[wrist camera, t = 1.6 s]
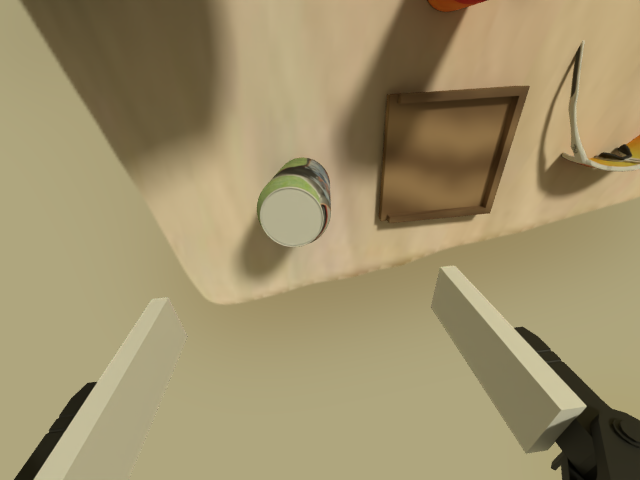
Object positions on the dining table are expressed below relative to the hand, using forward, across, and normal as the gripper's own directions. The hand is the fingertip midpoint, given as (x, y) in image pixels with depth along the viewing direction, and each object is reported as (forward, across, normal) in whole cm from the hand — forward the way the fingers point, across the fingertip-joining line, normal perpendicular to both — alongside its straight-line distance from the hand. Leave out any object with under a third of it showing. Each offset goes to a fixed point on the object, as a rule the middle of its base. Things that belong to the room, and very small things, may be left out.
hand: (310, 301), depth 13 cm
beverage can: (+20, 0, 0) cm, 20 cm away
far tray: (+20, +17, +1) cm, 26 cm away
